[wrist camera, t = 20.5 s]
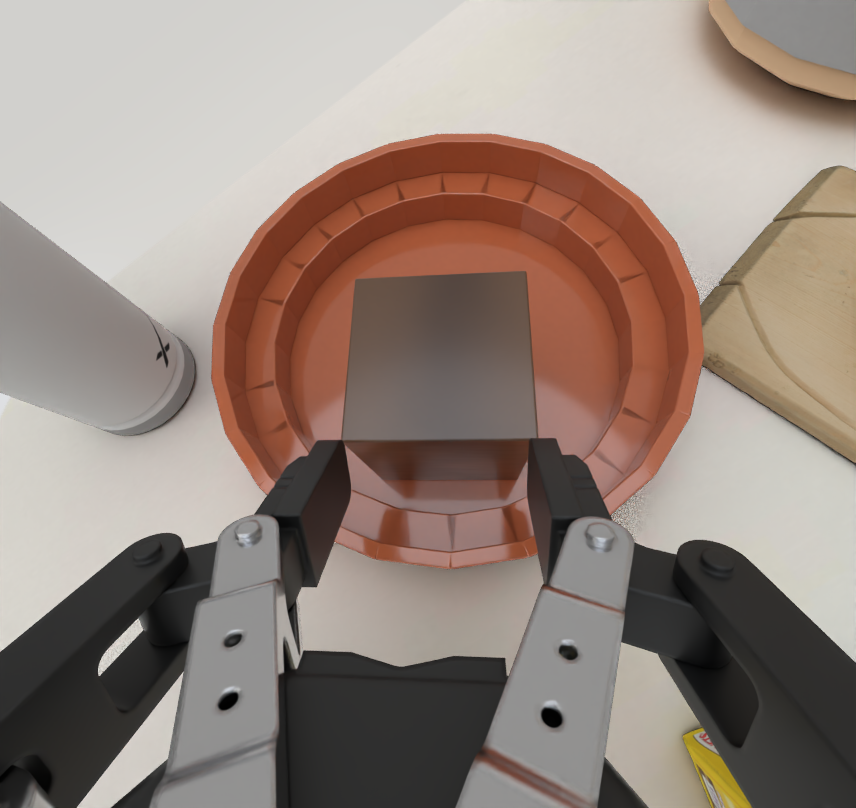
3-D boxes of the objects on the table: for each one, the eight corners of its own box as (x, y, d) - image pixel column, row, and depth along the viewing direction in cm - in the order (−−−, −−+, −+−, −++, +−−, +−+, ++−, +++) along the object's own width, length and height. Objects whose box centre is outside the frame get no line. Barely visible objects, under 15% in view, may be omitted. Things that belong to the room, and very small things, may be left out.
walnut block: (382, 480, 21) (340, 442, 14) (388, 359, 23) (354, 278, 17) (518, 480, 20) (538, 440, 14) (511, 355, 22) (526, 269, 16)
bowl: (193, 338, 25) (137, 294, 21) (473, 147, 28) (473, 74, 24) (412, 674, 19) (394, 706, 14) (753, 375, 21) (821, 329, 17)
